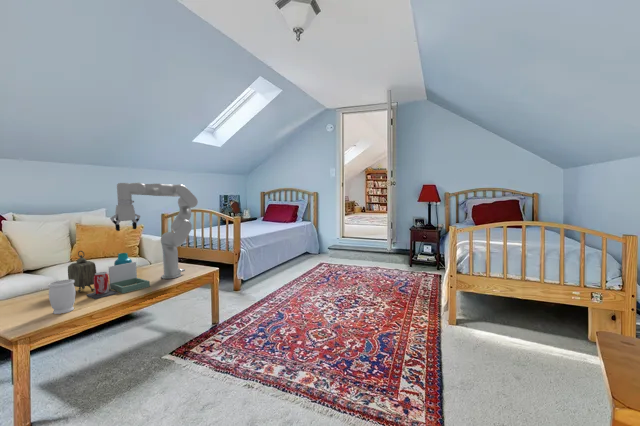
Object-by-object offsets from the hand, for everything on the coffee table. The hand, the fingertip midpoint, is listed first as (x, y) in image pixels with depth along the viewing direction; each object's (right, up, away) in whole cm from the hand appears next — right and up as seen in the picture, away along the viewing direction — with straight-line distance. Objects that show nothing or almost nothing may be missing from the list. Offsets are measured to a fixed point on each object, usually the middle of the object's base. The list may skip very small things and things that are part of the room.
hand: (126, 229), depth 199 cm
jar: (-8, -39, -39) cm, 56 cm away
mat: (-6, -37, -13) cm, 40 cm away
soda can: (-6, -37, -13) cm, 40 cm away
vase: (-10, -36, +15) cm, 40 cm away
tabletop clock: (-23, -37, -6) cm, 44 cm away
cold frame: (+3, -36, 0) cm, 36 cm away
